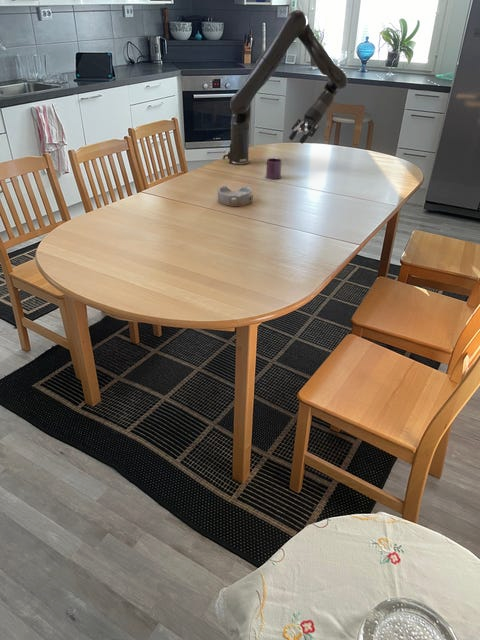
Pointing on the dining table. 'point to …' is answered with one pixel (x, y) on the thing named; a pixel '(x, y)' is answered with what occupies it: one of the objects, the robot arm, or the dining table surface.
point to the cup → (273, 168)
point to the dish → (235, 196)
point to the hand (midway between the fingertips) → (295, 140)
